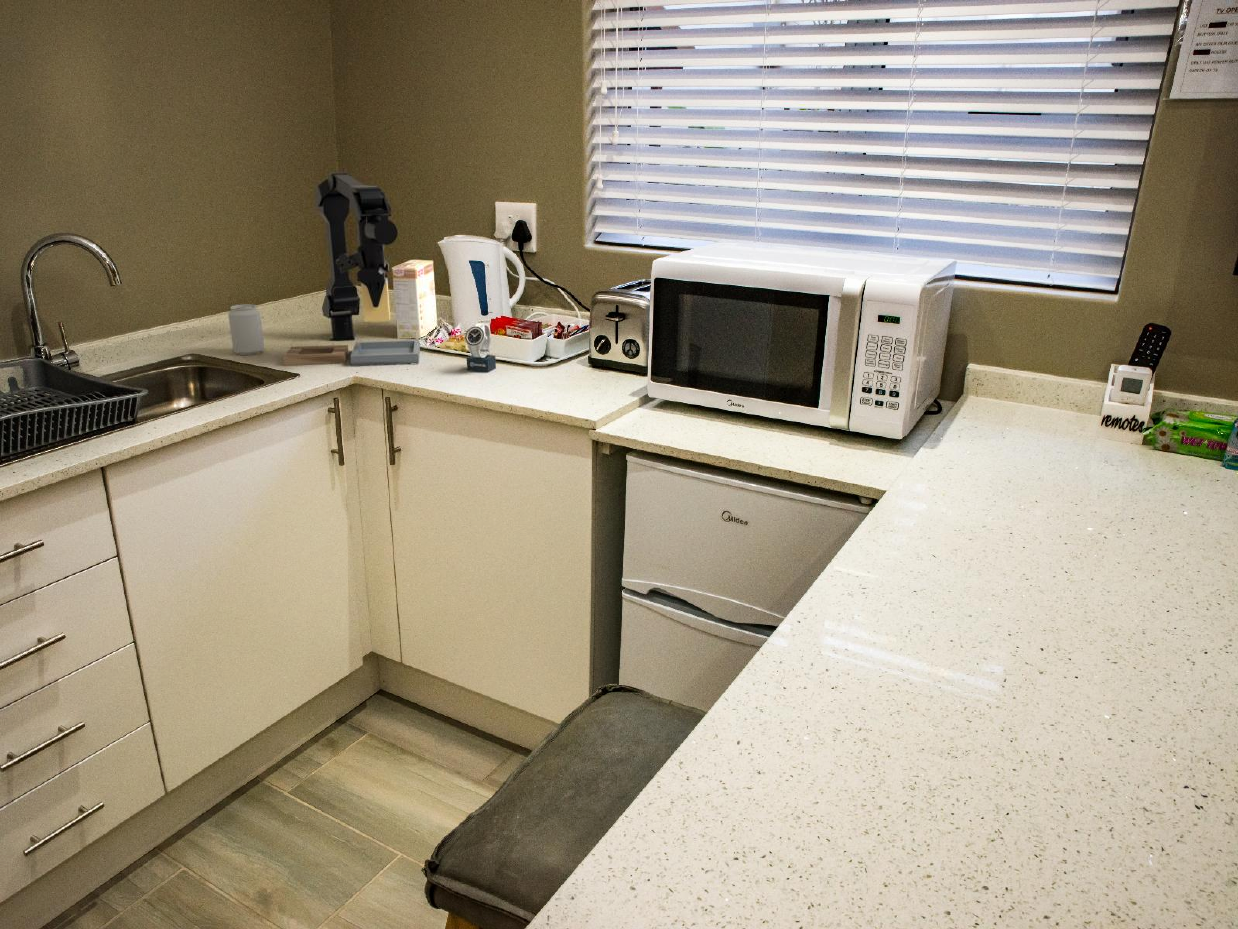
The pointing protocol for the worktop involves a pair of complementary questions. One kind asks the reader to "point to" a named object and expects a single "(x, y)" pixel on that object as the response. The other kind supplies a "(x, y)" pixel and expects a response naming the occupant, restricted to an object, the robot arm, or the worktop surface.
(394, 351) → the parts tray
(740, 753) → the worktop surface
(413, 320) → the coffeecake box
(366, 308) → the tan rectangular block
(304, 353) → the brown wooden frame
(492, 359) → the watch
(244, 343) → the can
